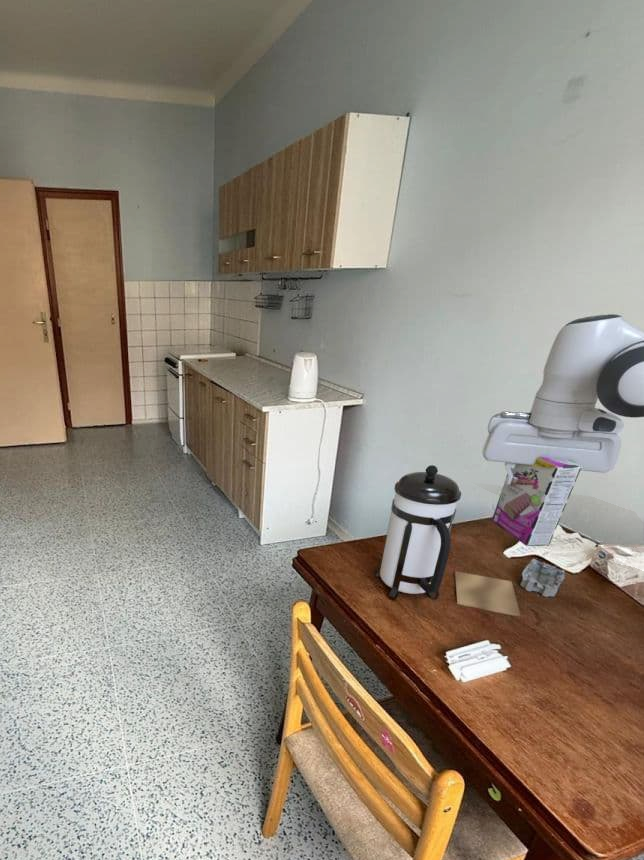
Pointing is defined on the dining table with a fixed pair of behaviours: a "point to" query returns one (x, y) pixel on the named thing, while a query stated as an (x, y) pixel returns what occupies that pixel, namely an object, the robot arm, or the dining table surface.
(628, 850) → the dining table surface
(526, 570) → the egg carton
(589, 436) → the robot arm
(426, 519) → the coffee press
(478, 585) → the cork pad
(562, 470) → the candy bar box
